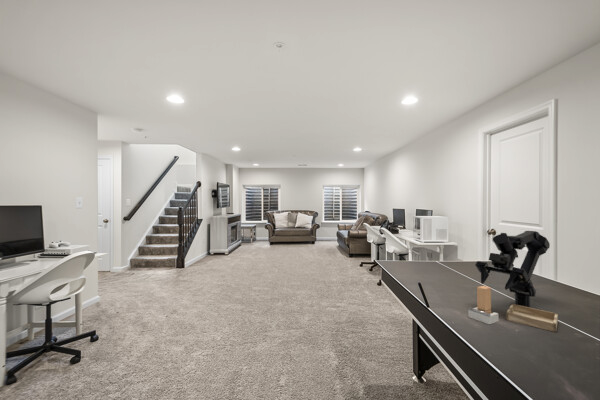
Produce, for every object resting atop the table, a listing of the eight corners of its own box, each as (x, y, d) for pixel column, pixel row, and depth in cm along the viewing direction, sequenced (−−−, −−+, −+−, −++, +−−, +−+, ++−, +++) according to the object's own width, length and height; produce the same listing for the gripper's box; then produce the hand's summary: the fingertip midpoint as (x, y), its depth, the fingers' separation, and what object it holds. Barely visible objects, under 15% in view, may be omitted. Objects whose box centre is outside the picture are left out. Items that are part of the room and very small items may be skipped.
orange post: (483, 316, 113) (483, 285, 113) (491, 318, 110) (490, 287, 111) (477, 318, 111) (477, 287, 111) (485, 320, 108) (484, 289, 109)
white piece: (478, 314, 116) (478, 304, 116) (499, 321, 109) (499, 310, 109) (468, 317, 112) (468, 307, 112) (489, 325, 105) (489, 314, 105)
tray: (511, 311, 120) (511, 303, 120) (557, 321, 109) (557, 313, 109) (506, 320, 110) (505, 312, 110) (556, 333, 99) (556, 324, 99)
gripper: (477, 243, 126) (463, 269, 120) (525, 249, 109) (511, 279, 104) (486, 259, 129) (473, 284, 124) (534, 267, 113) (521, 297, 107)
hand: (493, 286), depth 114 cm, fingers open, 9 cm apart
